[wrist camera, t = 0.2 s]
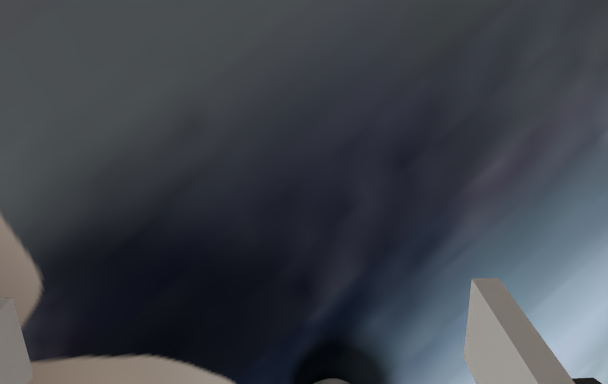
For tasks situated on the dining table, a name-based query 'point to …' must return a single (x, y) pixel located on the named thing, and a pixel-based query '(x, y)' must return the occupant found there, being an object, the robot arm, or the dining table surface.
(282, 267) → the dining table surface
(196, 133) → the dining table surface
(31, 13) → the dining table surface
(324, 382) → the spool
